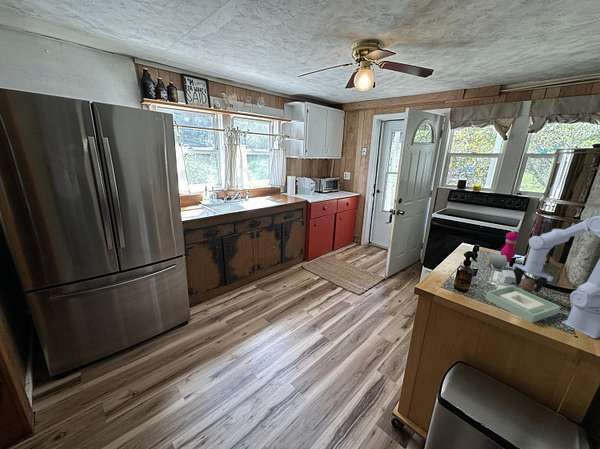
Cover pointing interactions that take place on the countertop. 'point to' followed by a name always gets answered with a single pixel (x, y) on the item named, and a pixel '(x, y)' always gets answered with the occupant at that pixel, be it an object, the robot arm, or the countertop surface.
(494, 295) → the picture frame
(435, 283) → the countertop surface
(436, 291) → the countertop surface
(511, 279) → the charger
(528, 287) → the peg
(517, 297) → the bore plate
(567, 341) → the countertop surface
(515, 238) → the pepper mill
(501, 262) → the ceramic mug
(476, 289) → the countertop surface
